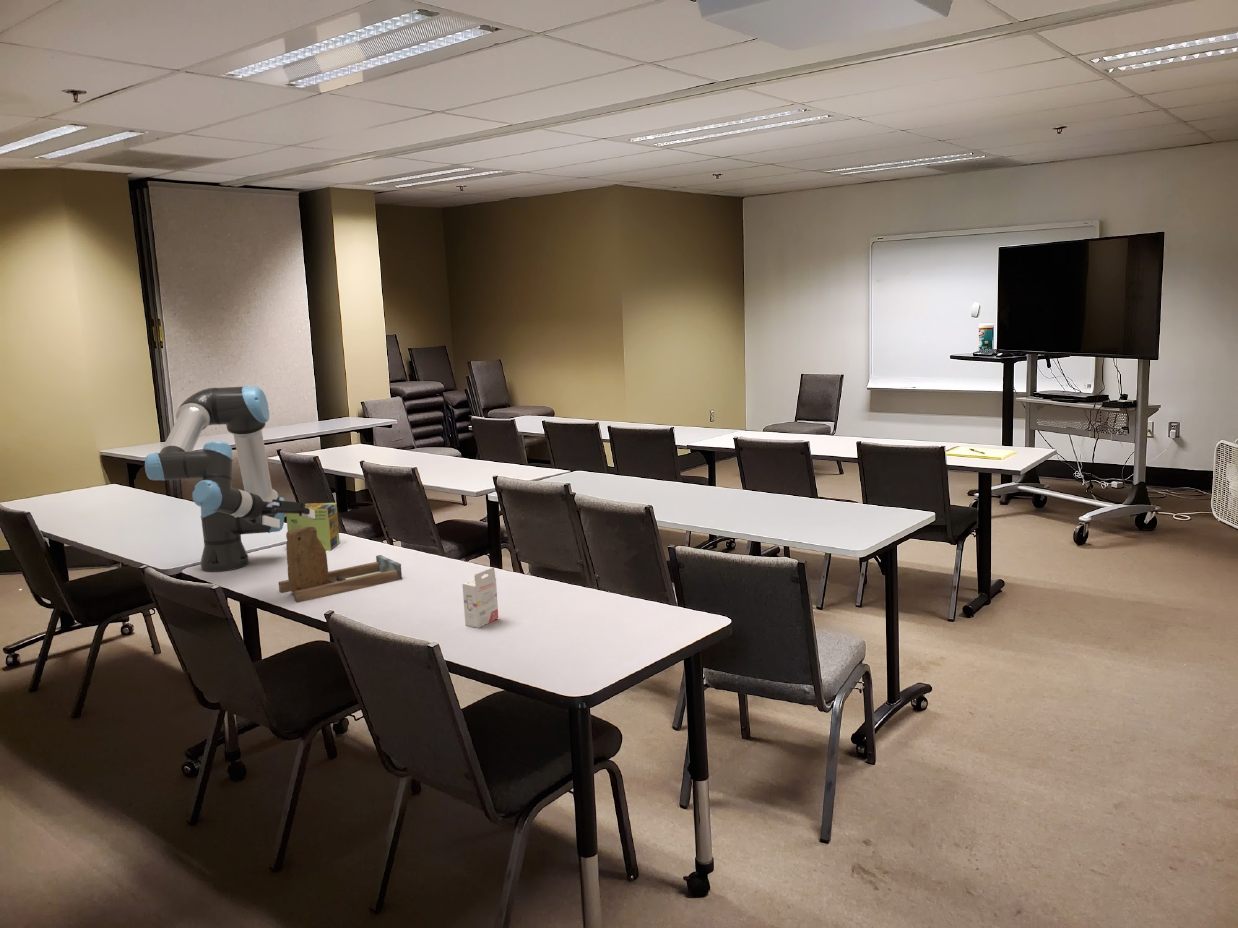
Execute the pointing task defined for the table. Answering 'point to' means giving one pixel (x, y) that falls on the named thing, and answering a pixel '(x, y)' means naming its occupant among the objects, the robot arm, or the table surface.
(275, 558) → the table surface
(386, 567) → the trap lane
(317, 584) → the block
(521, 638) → the table surface
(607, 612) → the table surface
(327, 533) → the protein box
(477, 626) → the ink cartridge box
